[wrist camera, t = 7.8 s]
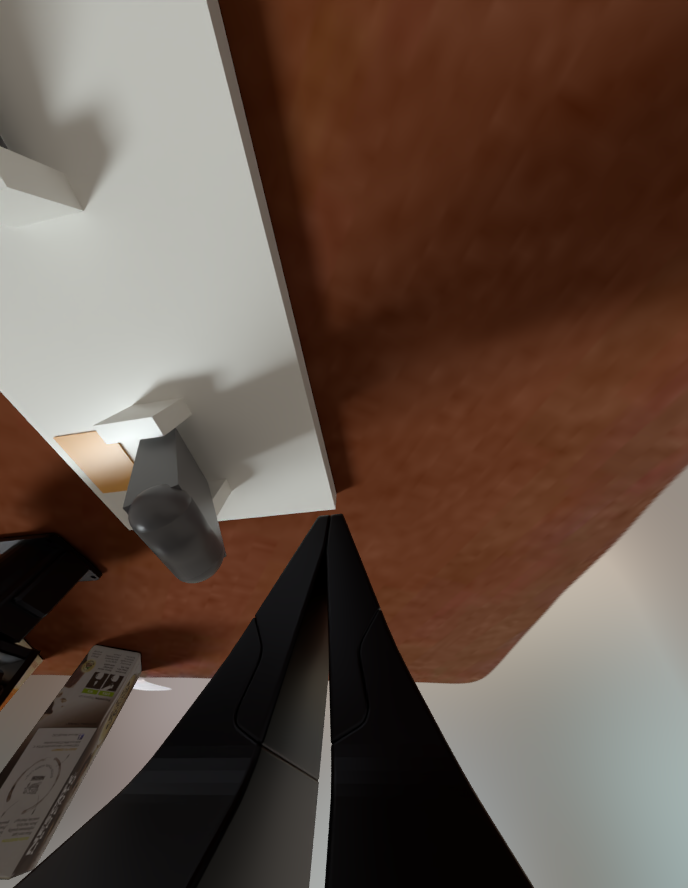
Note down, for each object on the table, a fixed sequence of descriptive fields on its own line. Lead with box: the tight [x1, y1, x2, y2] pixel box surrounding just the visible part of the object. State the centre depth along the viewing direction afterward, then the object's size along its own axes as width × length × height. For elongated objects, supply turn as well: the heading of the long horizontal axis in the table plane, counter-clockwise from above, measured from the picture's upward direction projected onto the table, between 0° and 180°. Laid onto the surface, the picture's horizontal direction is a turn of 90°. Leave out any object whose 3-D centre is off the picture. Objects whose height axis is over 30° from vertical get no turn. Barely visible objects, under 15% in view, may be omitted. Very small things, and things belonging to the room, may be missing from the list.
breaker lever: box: [123, 427, 226, 583], centre depth 11 cm, size 2×4×8 cm
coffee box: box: [0, 645, 141, 880], centre depth 30 cm, size 9×6×16 cm
